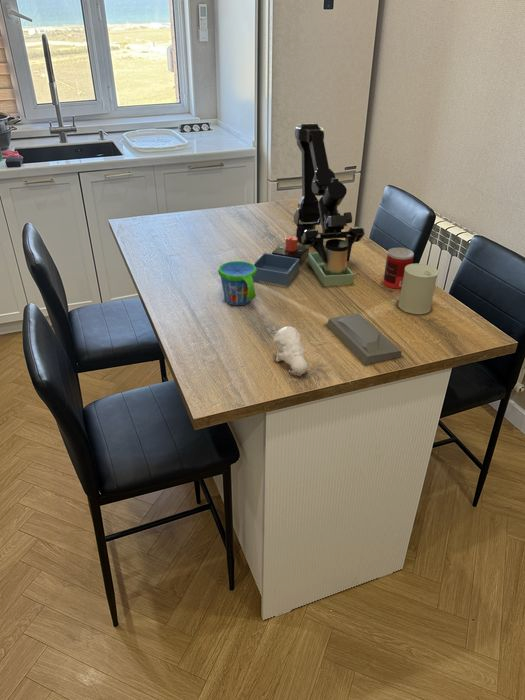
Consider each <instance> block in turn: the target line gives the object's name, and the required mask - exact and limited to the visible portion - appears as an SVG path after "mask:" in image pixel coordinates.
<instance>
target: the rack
mask: <svg viewBox="0 0 525 700" xmlns="http://www.w3.org/2000/svg"><path fill="white" fill-rule="evenodd" d="M307 263H308V264H309V266H310V267H311V268H312V270H313V271H314V273H315V275H316V276H317V278H318V280H319V281H320V283H321V284H322V286H338V285H350V284H354V279H355V278H354V277H355V274H354V273H353V271H352V270H351V269H350V268H349V266H348V265H347V264H346V272H345V274H342V275H327V276H326V275H325V274H324V272H323V271H324V261H323V260H322V258H321V257H320V255H319V254H318V252H317V251H316V252H309V253H308V255H307Z"/></svg>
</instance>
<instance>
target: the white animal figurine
mask: <svg viewBox="0 0 525 700" xmlns="http://www.w3.org/2000/svg"><path fill="white" fill-rule="evenodd" d="M273 345H274V347H275V348H276V357H275V361H276V362H278V363H279V362H281V361H284V362H285V363H286V364H288V365H289V366H290V368H291V370H288V372H290V373H291V374H292V375H296V376H298V377H302V375H304V374H305V373H306V372H307V371H308V368H309V366H308V362H307V360H306V359H305V356H306V350H305V348H304V347H303V344H302V336H301V334H300V333H299V332H298V330H297V329H296V328H295V327H293V326H287V325H286V326H285V327H282V328H280V329H278V330H277V331H276V333H275V335H274V336H273Z"/></svg>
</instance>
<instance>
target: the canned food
mask: <svg viewBox="0 0 525 700" xmlns="http://www.w3.org/2000/svg"><path fill="white" fill-rule="evenodd" d="M414 257H415V253H414V251H413V250H411V249H409V248H406V247H392V248H389V249H388V250H387V255H386V262H385V265H384V266H385V267H384V274H383V281H382V283H383V286H384V287H386V288H388V289H391V290H396V291H397V290H398V291H401V289H402V283H403V277H404V271H405V267H406V266H407V265H409V264H414Z"/></svg>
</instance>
